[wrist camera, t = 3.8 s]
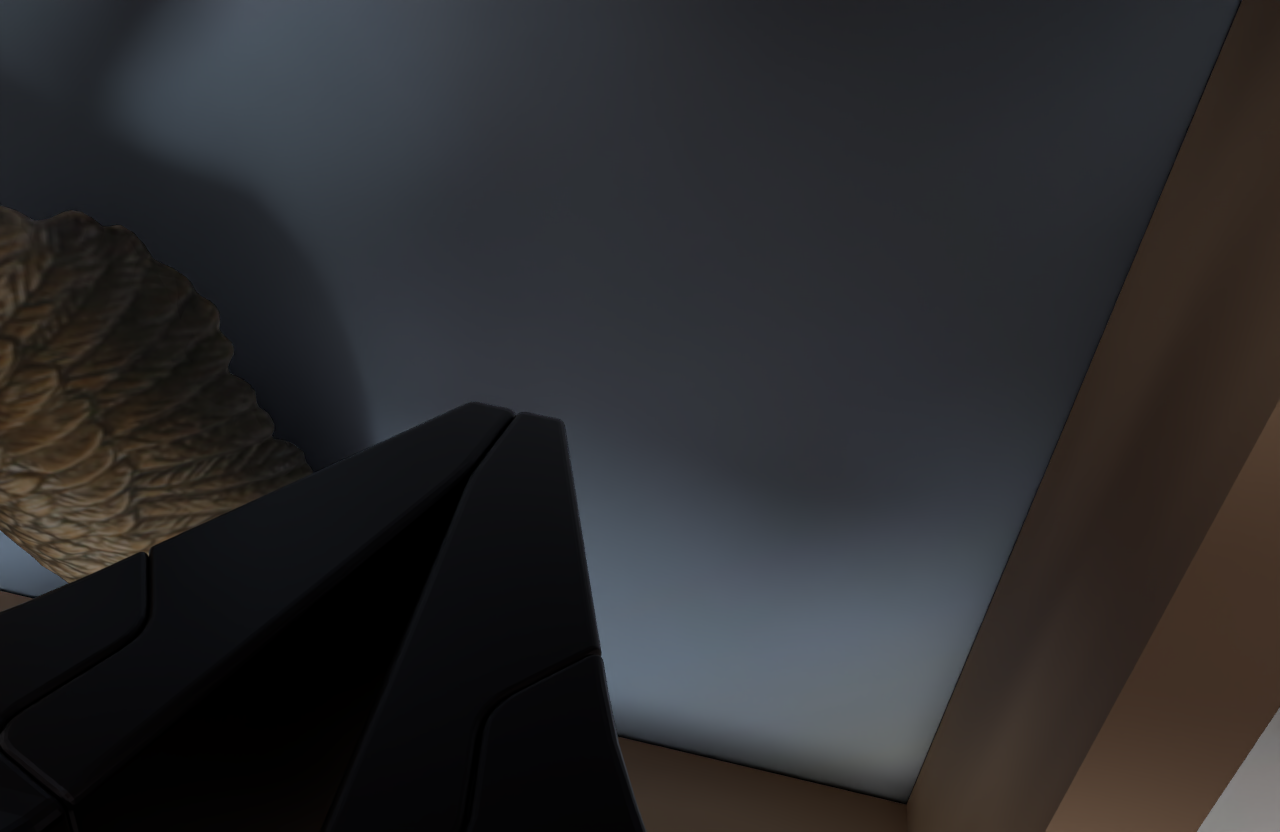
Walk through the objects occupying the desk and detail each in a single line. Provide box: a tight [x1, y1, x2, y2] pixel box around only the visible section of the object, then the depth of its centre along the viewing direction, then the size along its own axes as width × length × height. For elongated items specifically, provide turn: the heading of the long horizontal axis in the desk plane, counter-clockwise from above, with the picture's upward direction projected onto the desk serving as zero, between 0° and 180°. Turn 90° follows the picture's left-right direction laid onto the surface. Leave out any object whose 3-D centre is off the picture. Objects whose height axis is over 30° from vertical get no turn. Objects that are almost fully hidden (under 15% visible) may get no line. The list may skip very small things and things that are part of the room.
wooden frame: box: [0, 0, 1280, 832], centre depth 9 cm, size 12×18×3 cm, turn 83°
